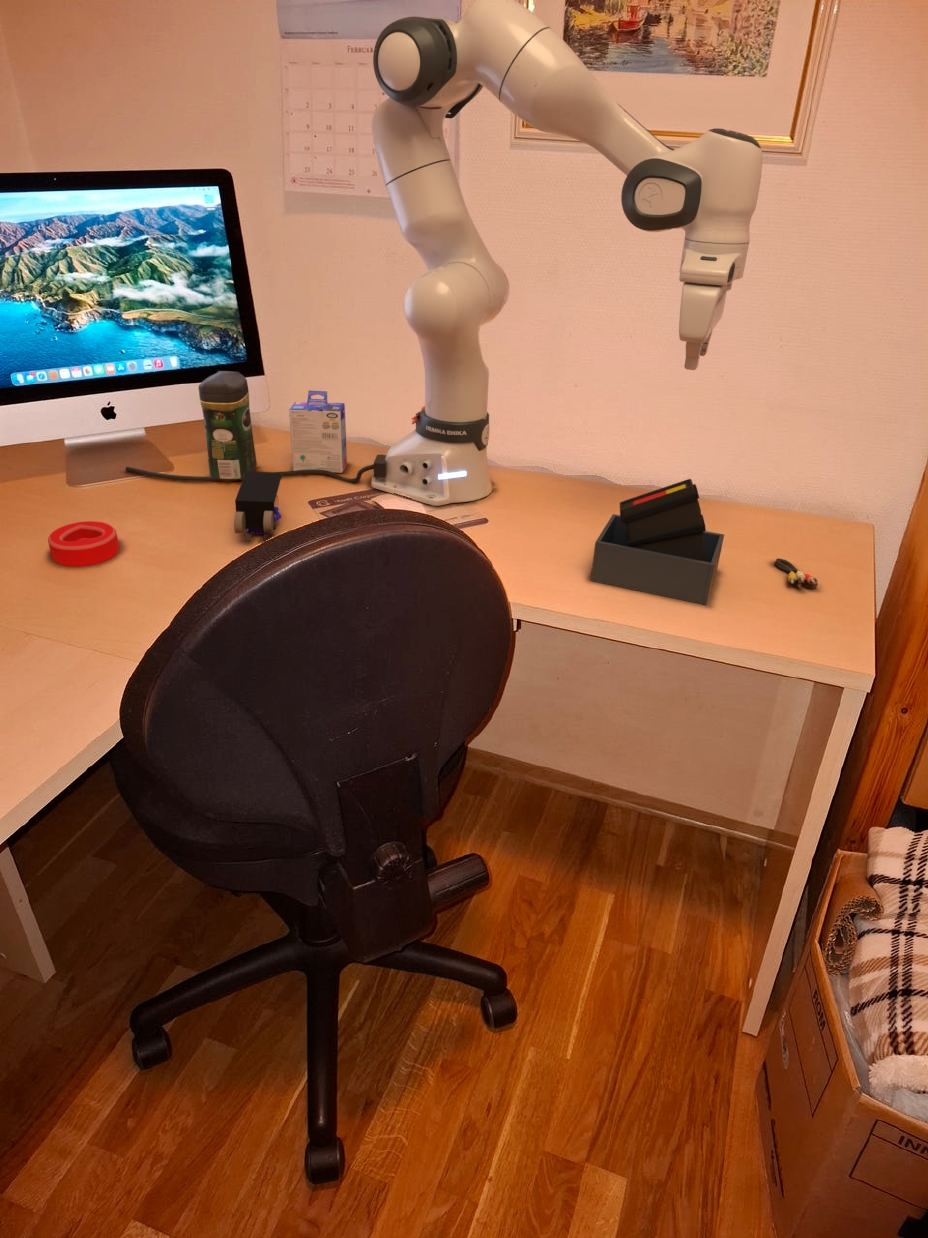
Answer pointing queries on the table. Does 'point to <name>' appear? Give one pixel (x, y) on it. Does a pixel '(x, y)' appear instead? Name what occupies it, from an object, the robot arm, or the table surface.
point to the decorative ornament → (83, 543)
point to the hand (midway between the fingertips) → (695, 361)
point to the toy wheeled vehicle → (257, 504)
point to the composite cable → (796, 575)
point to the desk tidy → (654, 566)
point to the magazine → (666, 521)
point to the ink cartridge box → (318, 434)
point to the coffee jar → (227, 425)
